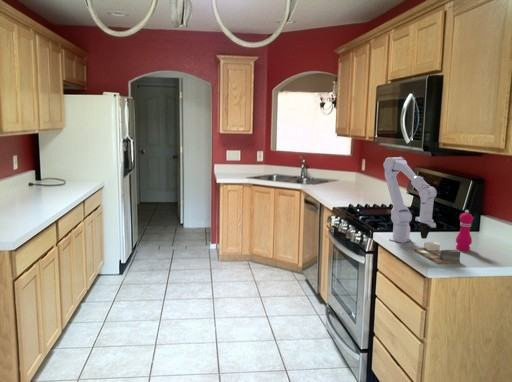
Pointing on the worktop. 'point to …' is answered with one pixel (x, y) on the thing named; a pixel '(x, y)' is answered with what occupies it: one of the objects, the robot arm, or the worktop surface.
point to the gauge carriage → (431, 246)
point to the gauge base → (437, 260)
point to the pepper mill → (464, 232)
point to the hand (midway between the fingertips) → (423, 238)
